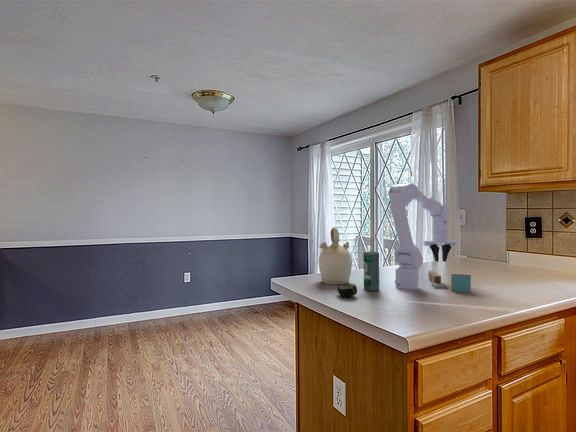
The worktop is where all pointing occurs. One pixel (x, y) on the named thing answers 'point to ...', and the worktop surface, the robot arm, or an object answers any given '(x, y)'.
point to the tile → (460, 282)
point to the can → (371, 270)
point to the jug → (335, 261)
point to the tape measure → (347, 290)
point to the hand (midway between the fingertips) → (440, 261)
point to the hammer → (436, 280)
